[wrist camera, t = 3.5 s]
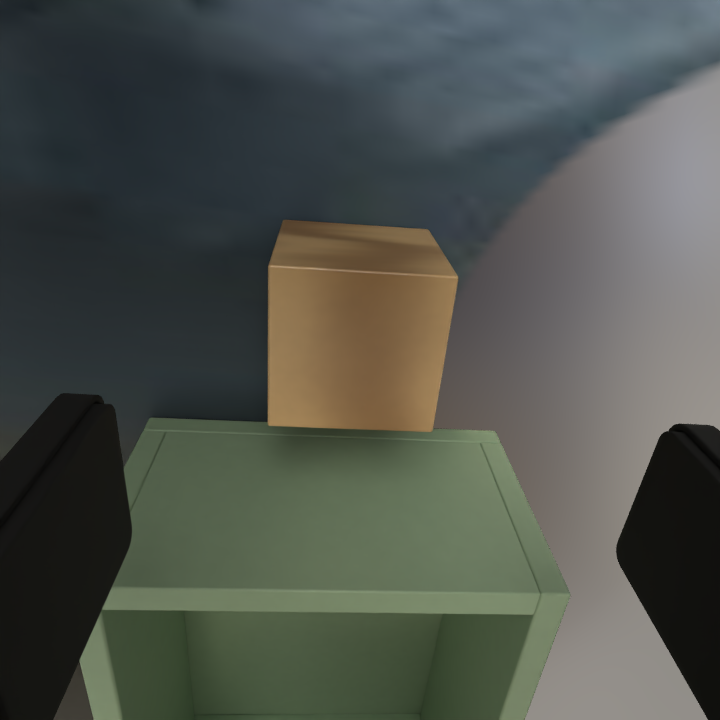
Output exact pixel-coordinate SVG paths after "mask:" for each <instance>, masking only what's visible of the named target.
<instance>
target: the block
mask: <svg viewBox="0 0 720 720" xmlns="http://www.w3.org/2000/svg"><path fill="white" fill-rule="evenodd" d="M457 284H458V276H457V274H456V273H455V271H454V269H453V268H452V266H451V265H450V263H449V261H448V260H447V258H446V257H445V255H444V254H443V252H442V250H441V249H440V247H439V246H438V244H437V242H436V241H435V239H434V238H433V236H432V234H431V233H430V231H429V230H428V229H415V228H401V227H386V226H371V225H356V224H342V223H327V222H312V221H297V220H283V222H282V225H281V228H280V231H279V234H278V237H277V240H276V243H275V247H274V250H273V253H272V256H271V259H270V262H269V265H268V425H269V426H282V427H308V428H334V429H360V430H387V431H413V432H432V431H433V426H434V419H435V414H436V408H437V402H438V396H439V390H440V384H441V379H442V373H443V366H444V360H445V354H446V349H447V343H448V337H449V331H450V325H451V319H452V314H453V308H454V302H455V296H456V290H457Z"/></svg>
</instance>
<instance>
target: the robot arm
mask: <svg viewBox="0 0 720 720" xmlns="http://www.w3.org/2000/svg"><path fill="white" fill-rule="evenodd" d="M131 538H132V523H131V516H130V509H129V502H128V495H127V489H126V482H125V475H124V468H123V461H122V455H121V448H120V441H119V434H118V427H117V421H116V414H115V409H114V407H113V406H112V405H111V404H104V401H103V399H102V397H101V396H99V395H89V394H69V393H63V394H60V395H59V396H57V397H56V398H55V400H54V401H53V402H52V403H51V404H50V405H49V406H48V408H47V409H46V410H45V411H44V412H43V413H42V414H41V416H40V417H39V418H38V419H37V420H36V421H35V422H34V424H33V425H32V426H31V427H30V428H29V429H28V430H27V432H26V433H25V434H24V435H23V436H22V437H21V438H20V440H19V441H18V442H17V443H16V444H15V445H14V446H13V448H12V449H11V450H10V451H9V452H8V453H7V454H6V456H5V457H4V458H3V459H2V460H1V461H0V720H53V719H54V717H55V714H56V712H57V710H58V708H59V705H60V703H61V701H62V699H63V696H64V694H65V692H66V690H67V687H68V685H69V683H70V681H71V678H72V676H73V674H74V671H75V669H76V667H77V665H78V662H79V660H80V658H81V656H82V653H83V651H84V649H85V647H86V644H87V642H88V640H89V638H90V635H91V633H92V631H93V629H94V626H95V624H96V622H97V620H98V617H99V615H100V613H101V611H102V608H103V606H104V604H105V602H106V599H107V597H108V595H109V593H110V590H111V588H112V586H113V583H114V581H115V579H116V577H117V574H118V572H119V570H120V568H121V565H122V563H123V561H124V559H125V556H126V554H127V552H128V549H129V547H130V543H131ZM616 553H617V559H618V562H619V564H620V566H621V568H622V570H623V571H624V573H625V575H626V577H627V579H628V581H629V582H630V584H631V585H632V587H633V589H634V591H635V592H636V594H637V596H638V598H639V599H640V601H641V603H642V605H643V606H644V608H645V610H646V612H647V614H648V615H649V617H650V619H651V621H652V622H653V624H654V626H655V628H656V629H657V631H658V633H659V635H660V636H661V638H662V640H663V642H664V643H665V645H666V647H667V649H668V650H669V652H670V654H671V656H672V657H673V659H674V661H675V663H676V664H677V666H678V668H679V669H680V671H681V673H682V675H683V676H684V678H685V680H686V682H687V684H688V685H689V687H690V689H691V691H692V692H693V694H694V696H695V697H696V699H697V701H698V703H699V705H700V706H701V708H702V710H703V712H704V713H705V715H706V717H707V719H708V720H720V431H719V430H718V429H717V428H715V427H714V426H710V425H696V424H694V425H693V424H676V425H673V426H672V427H671V428H670V429H669V431H667V432H664V433H663V434H662V435H661V436H660V438H659V440H658V443H657V445H656V448H655V450H654V452H653V455H652V457H651V460H650V463H649V465H648V467H647V470H646V473H645V475H644V477H643V480H642V482H641V485H640V487H639V490H638V493H637V495H636V498H635V500H634V502H633V505H632V508H631V510H630V512H629V515H628V518H627V520H626V523H625V525H624V528H623V530H622V533H621V535H620V537H619V540H618V543H617V548H616Z"/></svg>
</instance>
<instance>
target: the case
mask: <svg viewBox="0 0 720 720" xmlns="http://www.w3.org/2000/svg"><path fill="white" fill-rule="evenodd" d="M124 475H125V482H126V489H127V495H128V502H129V509H130V516H131V523H132V538H131V543H130V547H129V549H128V552H127V554H126V556H125V559H124V561H123V563H122V565H121V568H120V570H119V572H118V574H117V577H116V579H115V581H114V583H113V586H112V588H111V590H110V593H109V595H108V597H107V599H106V602H105V604H104V606H103V608H102V611H101V613H100V615H99V617H98V620H97V622H96V624H95V626H94V629H93V631H92V633H91V635H90V638H89V640H88V642H87V644H86V647H85V649H84V651H83V653H82V656H81V658H80V660H79V661H80V665H81V669H82V673H83V677H84V681H85V685H86V690H87V694H88V698H89V702H90V706H91V710H92V714H93V718H94V720H525V717H526V715H527V712H528V709H529V706H530V704H531V701H532V698H533V696H534V693H535V690H536V687H537V685H538V682H539V679H540V677H541V674H542V671H543V668H544V666H545V663H546V660H547V658H548V655H549V652H550V650H551V647H552V644H553V642H554V639H555V636H556V633H557V630H558V628H559V625H560V623H561V620H562V617H563V614H564V612H565V609H566V606H567V603H568V601H569V598H570V592H569V590H568V587H567V585H566V583H565V581H564V579H563V577H562V574H561V572H560V570H559V568H558V566H557V564H556V561H555V559H554V557H553V555H552V553H551V551H550V548H549V546H548V544H547V542H546V540H545V538H544V535H543V533H542V531H541V529H540V527H539V525H538V523H537V520H536V518H535V516H534V514H533V512H532V510H531V507H530V505H529V503H528V501H527V499H526V496H525V495H524V492H523V490H522V488H521V486H520V483H519V481H518V479H517V477H516V475H515V473H514V471H513V468H512V466H511V464H510V462H509V460H508V458H507V455H506V453H505V451H504V449H503V447H502V445H501V442H500V440H499V438H498V436H497V434H496V432H495V431H485V430H458V429H433V431H432V432H413V431H387V430H360V429H334V428H308V427H282V426H269V425H268V422H252V421H226V420H200V419H174V418H149V420H148V422H147V424H146V426H145V428H144V430H143V432H142V434H141V436H140V438H139V440H138V442H137V444H136V446H135V447H134V449H133V451H132V453H131V455H130V457H129V459H128V461H127V463H126V465H125V467H124Z"/></svg>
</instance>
